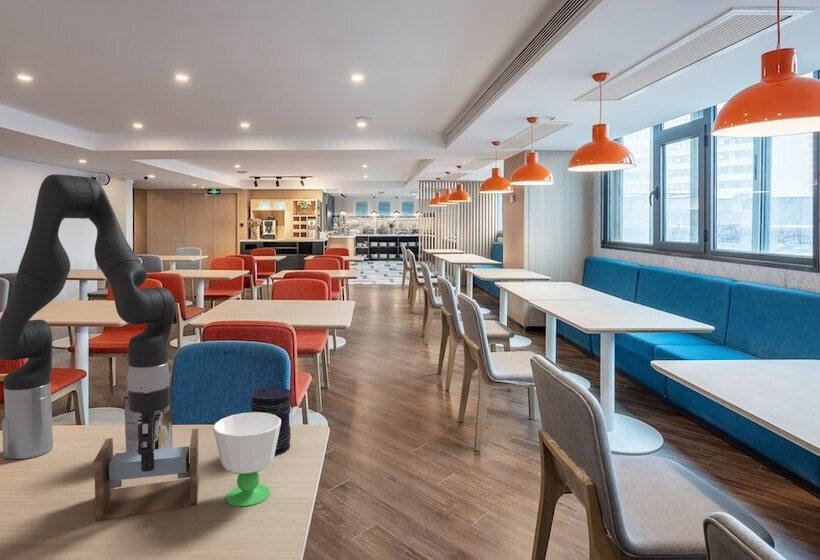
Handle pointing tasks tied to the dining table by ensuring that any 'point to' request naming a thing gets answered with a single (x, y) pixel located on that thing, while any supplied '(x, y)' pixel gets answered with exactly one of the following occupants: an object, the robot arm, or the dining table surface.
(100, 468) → the peg frame
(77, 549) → the dining table surface
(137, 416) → the coffee box
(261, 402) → the dark blue cylinder
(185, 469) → the light blue rectangular block
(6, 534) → the dining table surface
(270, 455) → the cup
